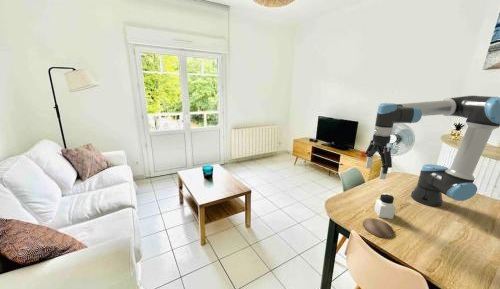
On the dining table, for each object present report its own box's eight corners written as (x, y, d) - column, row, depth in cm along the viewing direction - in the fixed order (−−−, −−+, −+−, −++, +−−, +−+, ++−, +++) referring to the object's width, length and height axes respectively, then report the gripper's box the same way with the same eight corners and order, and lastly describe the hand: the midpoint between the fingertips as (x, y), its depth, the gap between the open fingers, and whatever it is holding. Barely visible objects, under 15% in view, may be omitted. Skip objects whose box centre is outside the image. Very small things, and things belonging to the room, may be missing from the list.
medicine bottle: (393, 219, 112) (398, 199, 108) (378, 217, 113) (383, 198, 109) (387, 211, 118) (391, 192, 115) (374, 209, 120) (377, 191, 116)
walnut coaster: (382, 220, 110) (383, 218, 110) (399, 238, 98) (399, 236, 98) (358, 220, 111) (358, 218, 110) (371, 237, 98) (372, 235, 98)
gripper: (362, 129, 116) (356, 164, 122) (389, 141, 92) (381, 184, 98) (375, 129, 116) (369, 164, 122) (407, 141, 92) (397, 184, 98)
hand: (374, 173), depth 110 cm, fingers open, 13 cm apart
